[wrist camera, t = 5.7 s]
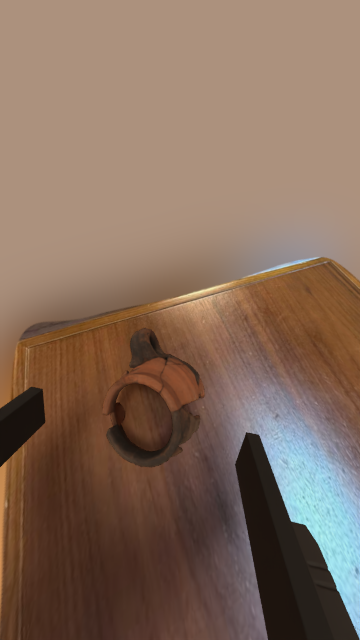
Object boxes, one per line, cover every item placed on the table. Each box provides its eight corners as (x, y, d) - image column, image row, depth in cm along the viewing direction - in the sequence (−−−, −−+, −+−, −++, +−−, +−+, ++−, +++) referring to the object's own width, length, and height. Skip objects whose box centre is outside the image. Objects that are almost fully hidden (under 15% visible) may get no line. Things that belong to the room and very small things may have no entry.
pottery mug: (222, 413, 20) (215, 465, 12) (152, 434, 22) (108, 491, 14) (181, 317, 22) (153, 309, 14) (122, 346, 24) (68, 353, 16)
